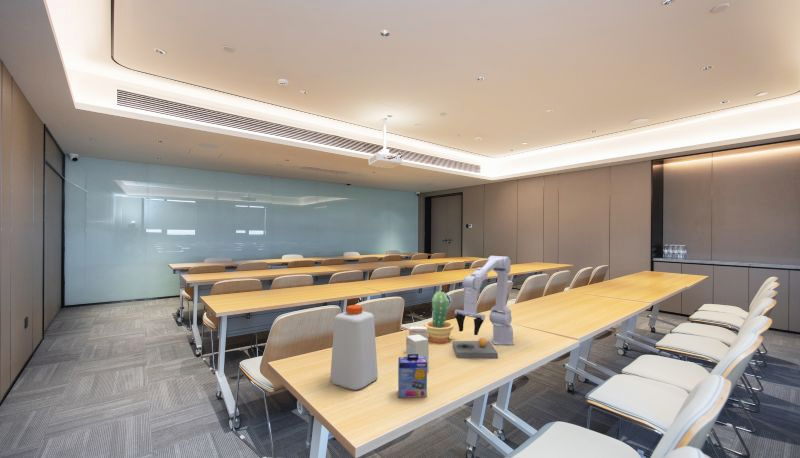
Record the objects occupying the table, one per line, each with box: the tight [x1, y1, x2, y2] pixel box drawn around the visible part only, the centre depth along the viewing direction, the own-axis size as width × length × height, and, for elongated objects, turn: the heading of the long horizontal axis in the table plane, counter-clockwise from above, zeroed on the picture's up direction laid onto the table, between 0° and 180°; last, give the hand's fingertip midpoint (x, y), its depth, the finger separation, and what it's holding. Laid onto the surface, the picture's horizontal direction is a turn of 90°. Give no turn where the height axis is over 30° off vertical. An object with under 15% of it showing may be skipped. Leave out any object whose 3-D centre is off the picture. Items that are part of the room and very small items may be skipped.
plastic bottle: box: [329, 304, 379, 391], centre depth 127 cm, size 15×15×28 cm
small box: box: [405, 334, 429, 373], centre depth 137 cm, size 8×6×13 cm
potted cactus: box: [423, 290, 454, 344], centre depth 175 cm, size 15×15×25 cm
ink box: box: [408, 325, 429, 340], centre depth 156 cm, size 9×5×12 cm, turn 84°
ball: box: [477, 337, 488, 347], centre depth 157 cm, size 4×4×4 cm
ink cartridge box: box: [397, 354, 428, 399], centre depth 116 cm, size 10×6×14 cm, turn 95°
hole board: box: [452, 340, 499, 359], centre depth 157 cm, size 18×16×2 cm
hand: (468, 333), depth 151 cm, fingers open, 7 cm apart
